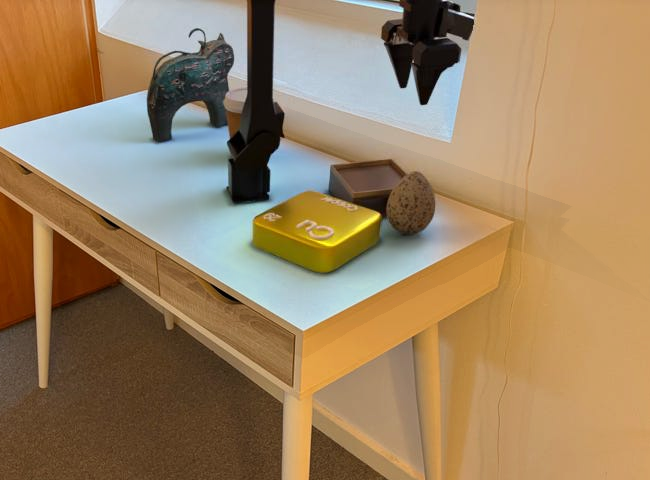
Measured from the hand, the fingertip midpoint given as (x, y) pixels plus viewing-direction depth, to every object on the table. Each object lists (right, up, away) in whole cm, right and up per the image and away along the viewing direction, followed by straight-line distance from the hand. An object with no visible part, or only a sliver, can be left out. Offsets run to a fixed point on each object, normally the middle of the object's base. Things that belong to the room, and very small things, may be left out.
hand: (413, 96), depth 119 cm
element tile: (-18, -26, -8) cm, 32 cm away
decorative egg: (-3, -24, -7) cm, 25 cm away
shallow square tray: (-6, -17, +2) cm, 18 cm away
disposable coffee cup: (-26, -4, +21) cm, 33 cm away
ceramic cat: (-36, +5, +34) cm, 50 cm away
